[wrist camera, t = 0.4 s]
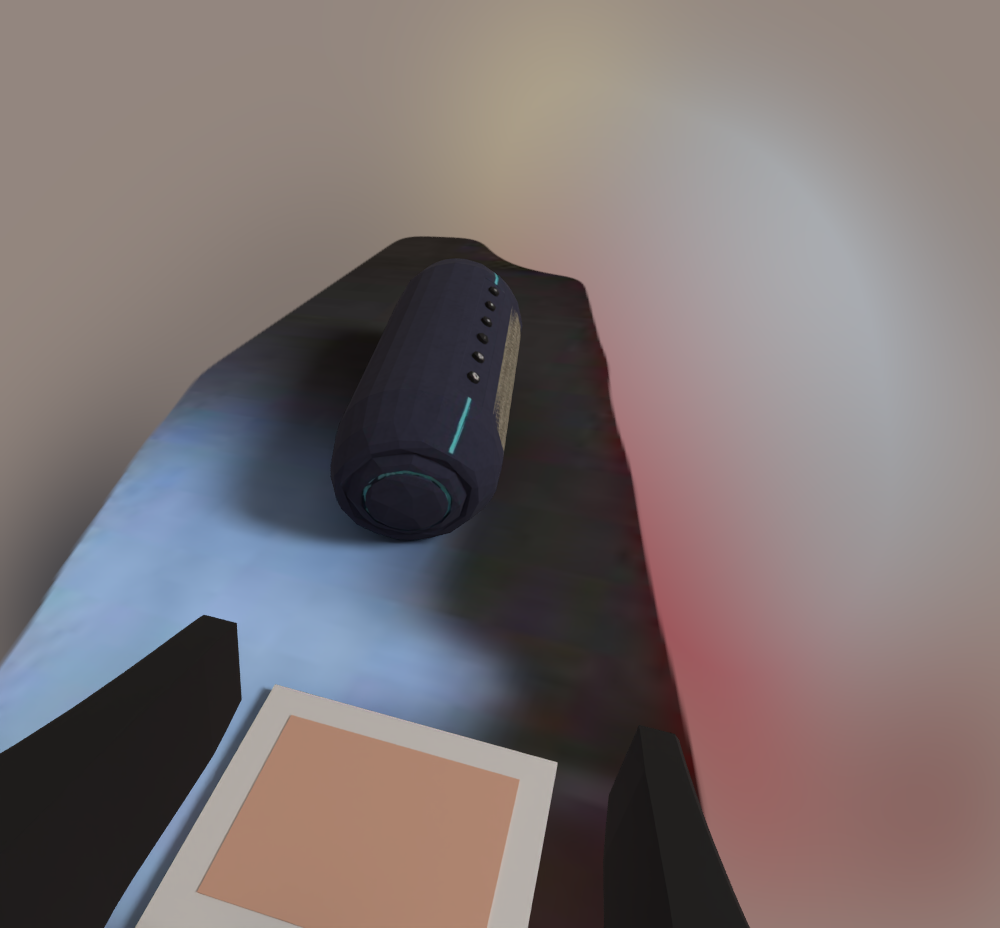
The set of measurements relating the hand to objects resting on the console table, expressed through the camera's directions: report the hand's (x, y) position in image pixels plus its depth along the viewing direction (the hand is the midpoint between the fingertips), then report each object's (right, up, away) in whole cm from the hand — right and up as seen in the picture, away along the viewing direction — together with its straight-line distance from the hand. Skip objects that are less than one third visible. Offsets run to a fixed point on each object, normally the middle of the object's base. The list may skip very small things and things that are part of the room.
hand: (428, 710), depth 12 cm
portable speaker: (-3, +6, +37) cm, 38 cm away
